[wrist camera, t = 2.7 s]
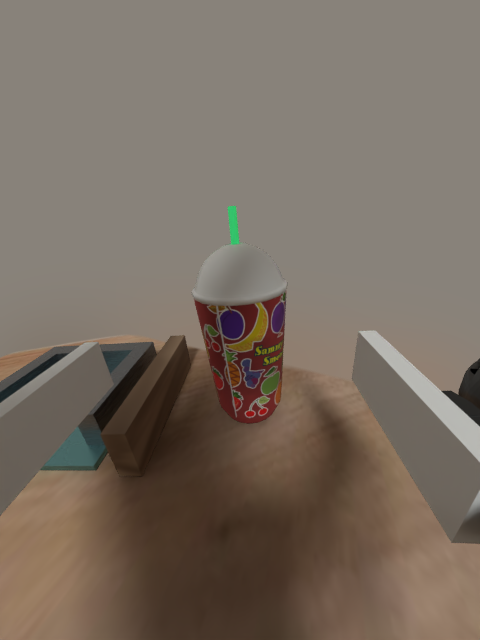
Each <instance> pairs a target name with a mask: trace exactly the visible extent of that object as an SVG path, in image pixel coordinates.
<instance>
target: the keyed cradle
mask: <svg viewBox="0 0 480 640" xmlns="http://www.w3.org/2000/svg"><path fill="white" fill-rule="evenodd" d="M78 347H79V346H63V347H54V348H52V349H51V350H49V351H48V352H46V353H44V354H43V355H41V356H40V357H38V358H37V359H35V360H34V361H32V362H30V363H29V364H27V365H26V366H24V367H23V368H21V369H20V370H18V371H16V372H15V373H13V374H12V375H10V376H9V377H7V378H5V379H4V380H2V381H1V382H0V403H1V402H2V401H4V400H5V399H7V398H8V397H9V396H11V395H12V394H14V393H15V392H16V391H18V390H19V389H21V388H22V387H23V386H25V385H26V384H28V383H29V382H30V381H32V380H33V379H35V378H36V377H37V376H39V375H40V374H42V373H43V372H44V371H46V370H47V369H49V368H50V367H51V366H53V365H54V364H56V363H57V362H58V361H60V360H61V359H63V358H64V357H65V356H67V355H68V354H70V353H71V352H72V351H74V350H75V349H76V348H78ZM100 348H101V351H102V353H103V356H104V359H105V362H106V364H107V367H108V370H109V373H110V375H111V378H112V381H113V383H114V385H113V386H112V387H111V388H110V389H109V391H108V392H107V393H106V394H105V395H104V396H103V397H102V399H101V400H100V401H99V402H98V403H97V404H96V406H95V407H94V408H93V409H92V410H91V411H90V412H89V414H88V415H87V416H86V417H85V418H84V419H83V421H82V422H81V423H80V424H79V425H78V426H77V428H76V429H75V430H74V431H73V432H72V433H71V434H70V436H69V437H68V438H67V439H66V440H65V441H64V443H63V444H62V445H61V446H60V447H59V448H58V449H57V451H56V452H55V453H54V454H53V455H52V456H51V458H50V459H49V460H48V461H47V462H46V463H45V465H44V466H43V467H42V468H41V469H40V470H97V468H98V466H99V465H100V463H101V462H102V460H103V458H104V457H105V455H106V454H107V452H108V450H107V448H106V446H105V444H104V442H103V440H102V438H101V436H100V434H101V432H102V431H103V430H104V428H105V427H106V425H107V424H108V423H109V421H110V420H111V419H112V417H113V416H114V414H115V413H116V412H117V410H118V409H119V407H120V406H121V405H122V403H123V402H124V400H125V399H126V398H127V396H128V395H129V393H130V392H131V391H132V389H133V388H134V387H135V385H136V384H137V382H138V381H139V380H140V378H141V377H142V375H143V374H144V373H145V371H146V370H147V368H148V367H149V366H150V364H151V363H152V361H153V360H154V359H155V357H156V356H157V354H156V351H155V347H154V343H153V342H140V343H121V344H102V345H100Z"/></svg>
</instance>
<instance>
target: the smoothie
mask: <svg viewBox="0 0 480 640" xmlns="http://www.w3.org/2000/svg"><path fill="white" fill-rule="evenodd" d="M228 214H229V225H230V234H231V244H227V245H225V246H223V247H221V248H219V249H217V250H216V251H214V252H213V253H212V254H211V255H210V256H209V257H208V258H207V259H206V261H205V262H204V264H203V265H202V267H201V269H200V271H199V273H198V277H197V281H196V285H195V287H194V289H193V290H192V295H193V297H194V300H195V305H196V310H197V314H198V317H199V322H200V326H201V330H202V333H203V337H204V342H205V345H206V350H207V354H208V358H209V362H210V366H211V370H212V374H213V378H214V382H215V386H216V390H217V394H218V398H219V402H220V404H221V407H222V408H223V409H224V410H225V411H226V412H227V413H228V415H229V416H230V417H232V418H233V419H234V420H236V421H239V422H242V423H258V422H260V421H263V420H265V419H267V418H268V417H269V416H270V415H272V413H273V411H274V410H275V408H276V407H277V405H278V404H279V402H280V398H281V384H282V365H283V346H284V326H285V309H286V308H285V307H286V289H287V285H288V283H287V281H286V280H285V279H284V278H283V277H282V275H281V272H280V270H279V268H278V266H277V265H276V263H275V262H274V260H273V259H272V258H271V257H270V256H269V255H268V254H267V253H266V252H264V251H263V250H261V249H260V248H258V247H256V246H253V245H250V244H247V243H239V235H238V224H237V213H236V206H230V207H228Z"/></svg>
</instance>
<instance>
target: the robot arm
mask: <svg viewBox="0 0 480 640" xmlns="http://www.w3.org/2000/svg"><path fill="white" fill-rule="evenodd" d="M352 380H353V381H354V383H355V385H356V386H357V388H358V390H359V391H360V393H361V395H362V396H363V398H364V400H365V401H366V403H367V404H368V406H369V408H370V409H371V411H372V413H373V414H374V416H375V418H376V419H377V421H378V423H379V424H380V426H381V427H382V429H383V431H384V432H385V434H386V436H387V437H388V439H389V441H390V442H391V444H392V446H393V447H394V449H395V450H396V452H397V454H398V455H399V457H400V459H401V460H402V462H403V464H404V465H405V467H406V469H407V470H408V472H409V473H410V475H411V477H412V478H413V480H414V482H415V483H416V485H417V487H418V488H419V490H420V492H421V493H422V495H423V497H424V498H425V500H426V501H427V503H428V505H429V506H430V508H431V510H432V511H433V513H434V515H435V516H436V518H437V520H438V521H439V523H440V524H441V526H442V528H443V529H444V531H445V533H446V534H447V536H448V538H449V539H450V541H451V543H476V544H480V359H479V360H478V361H477V362H475V363H474V364H473V365H471V366H470V367H469V368H468V370H467V371H466V373H465V375H464V378H463V381H462V383H461V386H460V388H459V395H457V394H456V393H454V392H452V391H440V390H439V389H438V388H437V387H436V386H435V385H434V384H433V383H432V382H431V381H430V380H429V379H427V378H426V377H425V376H424V375H423V374H422V373H421V372H420V371H419V370H417V368H415V367H414V366H413V365H412V364H411V363H410V362H409V361H408V360H407V359H405V357H403V356H402V355H401V354H400V353H399V352H398V351H397V350H396V349H395V348H394V347H393V346H392V345H390V344H389V343H388V342H387V341H386V340H385V339H384V338H383V337H382V336H380V335H379V334H378V333H377V332H376V331H358V338H357V345H356V352H355V359H354V366H353V374H352ZM113 385H114V383H113V381H112V378H111V375H110V373H109V370H108V367H107V364H106V362H105V359H104V356H103V353H102V351H101V348H100V345H99V343H98V342H88V343H83V344H82V345H81V346H79V347H78V348H76V349H75V350H74V351H72V352H71V353H70V354H68V355H67V356H65V357H64V358H63V359H61V360H60V361H58V362H57V363H56V364H54V365H53V366H51V367H50V368H49V369H47V370H46V371H44V372H43V373H42V374H40V375H39V376H37V377H36V378H35V379H33V380H32V381H30V382H29V383H28V384H26V385H25V386H23V387H22V388H21V389H19V390H18V391H16V392H15V393H14V394H12V395H11V396H9V397H8V398H7V399H5V400H4V401H2V402H1V403H0V515H1V514H2V513H3V512H4V511H5V510H6V508H7V507H8V506H9V505H10V504H11V503H12V501H13V500H14V499H15V498H16V497H17V496H18V495H19V493H20V492H21V491H22V490H23V489H24V488H25V486H26V485H27V484H28V483H29V482H30V481H31V480H32V478H33V477H34V476H35V475H36V474H37V473H38V471H39V470H40V469H41V468H42V467H43V466H44V465H45V463H46V462H47V461H48V460H49V459H50V458H51V456H52V455H53V454H54V453H55V452H56V451H57V449H58V448H59V447H60V446H61V445H62V444H63V443H64V441H65V440H66V439H67V438H68V437H69V436H70V434H71V433H72V432H73V431H74V430H75V429H76V428H77V426H78V425H79V424H80V423H81V422H82V421H83V419H84V418H85V417H86V416H87V415H88V414H89V412H90V411H91V410H92V409H93V408H94V407H95V406H96V404H97V403H98V402H99V401H100V400H101V399H102V397H103V396H104V395H105V394H106V393H107V392H108V391H109V389H110V388H111V387H112V386H113Z"/></svg>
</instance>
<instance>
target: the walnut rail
mask: <svg viewBox="0 0 480 640" xmlns="http://www.w3.org/2000/svg"><path fill="white" fill-rule="evenodd" d="M190 366H191V363H190V358H189V354H188V349H187V344H186V340H185V336H184V335H182V336H171V337H170V338H169V339H168V341H167V342H166V343H165V345H164V346H163V348H162V349H161V350H160V352H159V353H158V355H157V356H156V357H155V359H154V360H153V361H152V363H151V364H150V366H149V367H148V368H147V370H146V371H145V373H144V374H143V375H142V377H141V378H140V380H139V381H138V382H137V384H136V385H135V387H134V388H133V389H132V391H131V392H130V393H129V395H128V396H127V398H126V399H125V400H124V402H123V403H122V405H121V406H120V407H119V409H118V410H117V412H116V413H115V414H114V416H113V417H112V419H111V420H110V421H109V423H108V424H107V425H106V427H105V428H104V430H103V431H102V432H101V434H100V436H101V438H102V440H103V442H104V444H105V446H106V448H107V450H108V453H109V455H110V457H111V459H112V461H113V463H114V465H115V467H116V470H117V472H118V474H119V476H143V473H144V471H145V469H146V466H147V464H148V462H149V460H150V457H151V455H152V453H153V451H154V448H155V446H156V444H157V441H158V439H159V437H160V435H161V432H162V430H163V428H164V425H165V423H166V421H167V419H168V416H169V414H170V412H171V410H172V407H173V405H174V403H175V400H176V398H177V396H178V394H179V391H180V389H181V387H182V384H183V382H184V380H185V378H186V375H187V373H188V371H189V369H190Z"/></svg>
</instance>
